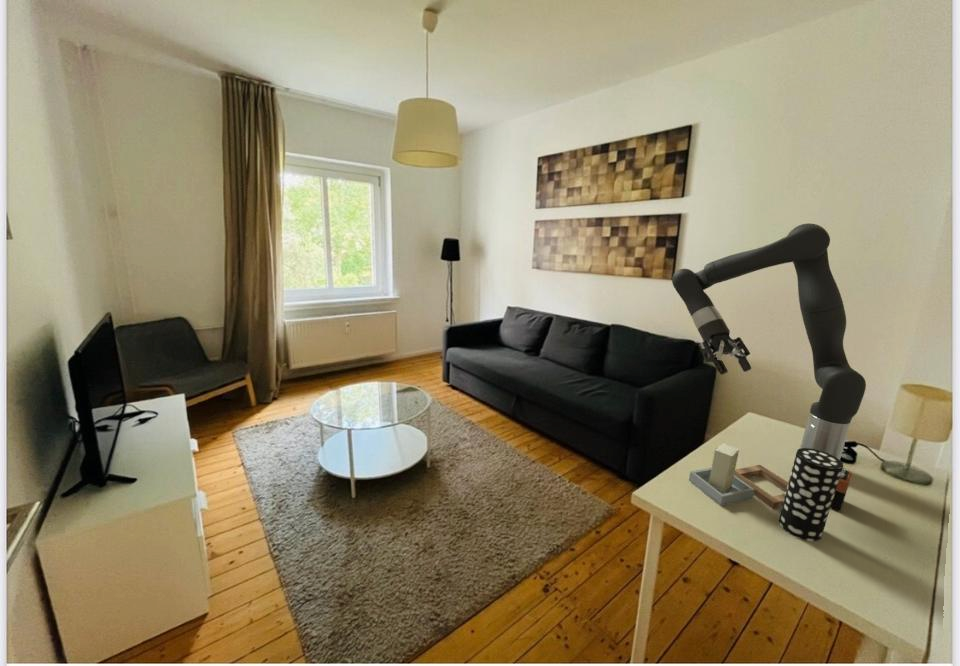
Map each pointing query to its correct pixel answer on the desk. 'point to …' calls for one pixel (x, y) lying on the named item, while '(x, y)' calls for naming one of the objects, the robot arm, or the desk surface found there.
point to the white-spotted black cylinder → (810, 493)
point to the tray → (733, 495)
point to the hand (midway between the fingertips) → (736, 372)
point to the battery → (841, 490)
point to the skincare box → (723, 467)
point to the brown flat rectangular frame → (760, 493)
